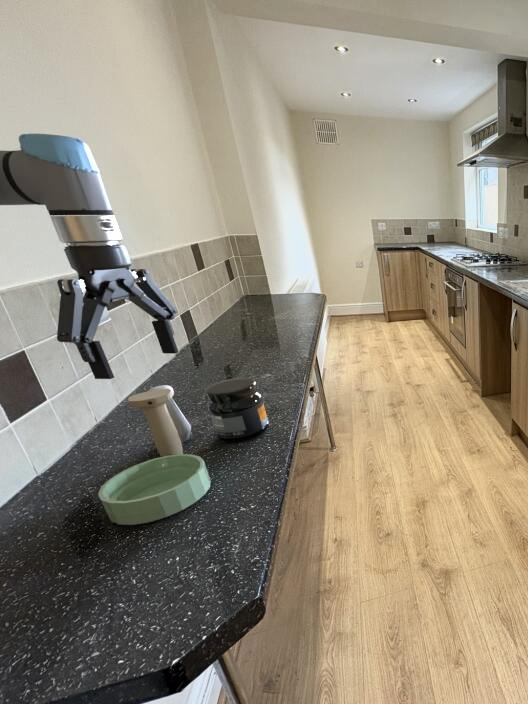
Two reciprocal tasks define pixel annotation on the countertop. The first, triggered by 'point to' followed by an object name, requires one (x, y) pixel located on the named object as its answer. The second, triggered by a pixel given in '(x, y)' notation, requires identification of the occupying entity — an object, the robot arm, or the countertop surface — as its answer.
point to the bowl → (155, 489)
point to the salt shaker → (176, 416)
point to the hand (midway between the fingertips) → (140, 364)
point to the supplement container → (236, 410)
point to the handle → (159, 420)
